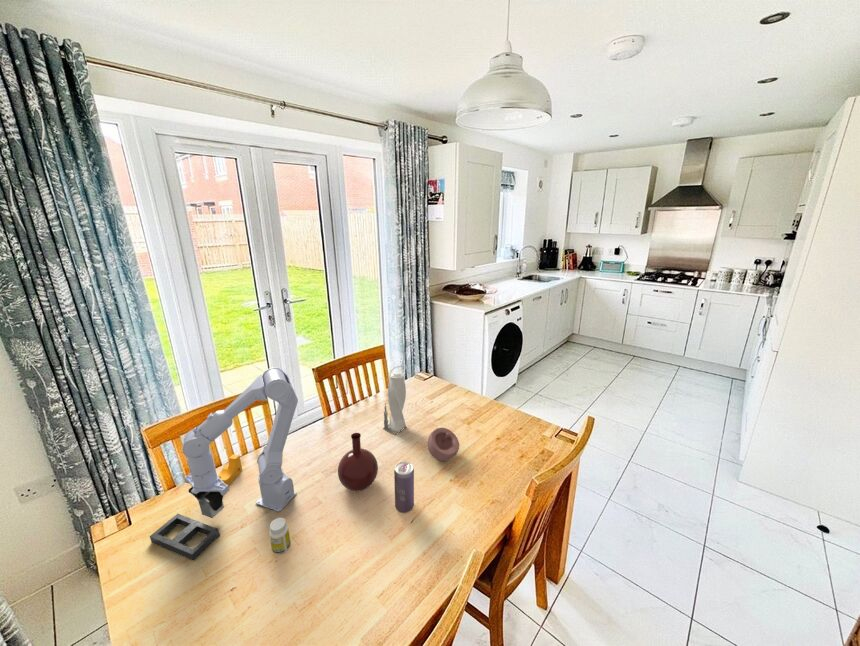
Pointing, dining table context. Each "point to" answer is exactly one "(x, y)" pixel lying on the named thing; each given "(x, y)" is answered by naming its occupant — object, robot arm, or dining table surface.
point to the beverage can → (404, 487)
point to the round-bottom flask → (357, 467)
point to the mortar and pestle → (443, 444)
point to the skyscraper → (395, 402)
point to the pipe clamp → (231, 469)
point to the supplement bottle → (279, 536)
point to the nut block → (208, 506)
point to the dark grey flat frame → (185, 536)
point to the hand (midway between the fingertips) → (212, 506)
